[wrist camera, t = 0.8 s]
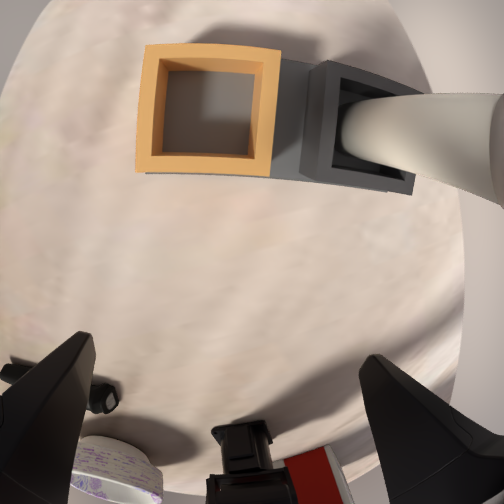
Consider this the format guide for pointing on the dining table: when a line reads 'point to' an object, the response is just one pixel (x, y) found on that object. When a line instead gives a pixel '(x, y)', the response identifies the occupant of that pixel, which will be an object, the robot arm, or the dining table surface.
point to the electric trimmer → (99, 396)
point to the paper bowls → (116, 472)
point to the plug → (431, 137)
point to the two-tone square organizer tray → (254, 116)
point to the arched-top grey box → (317, 477)
